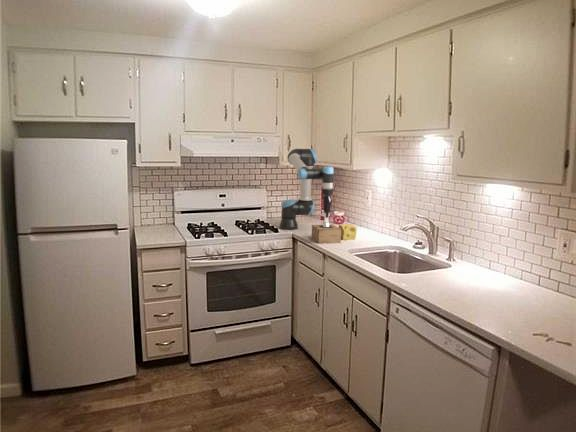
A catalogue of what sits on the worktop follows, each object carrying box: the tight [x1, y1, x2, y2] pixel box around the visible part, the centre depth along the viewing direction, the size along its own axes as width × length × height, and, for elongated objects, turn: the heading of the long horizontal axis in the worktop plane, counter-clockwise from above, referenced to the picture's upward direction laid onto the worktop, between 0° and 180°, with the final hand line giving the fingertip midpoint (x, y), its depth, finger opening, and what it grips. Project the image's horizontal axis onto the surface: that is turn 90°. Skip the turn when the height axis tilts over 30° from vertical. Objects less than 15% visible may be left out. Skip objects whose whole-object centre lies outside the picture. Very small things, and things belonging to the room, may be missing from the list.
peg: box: [322, 221, 331, 227], centre depth 303 cm, size 5×5×9 cm
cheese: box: [337, 223, 358, 241], centre depth 313 cm, size 10×11×10 cm
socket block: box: [311, 224, 342, 245], centre depth 304 cm, size 18×16×10 cm
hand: (326, 221), depth 302 cm, fingers closed
